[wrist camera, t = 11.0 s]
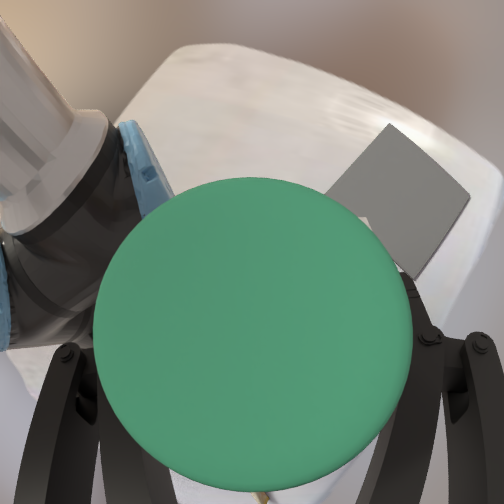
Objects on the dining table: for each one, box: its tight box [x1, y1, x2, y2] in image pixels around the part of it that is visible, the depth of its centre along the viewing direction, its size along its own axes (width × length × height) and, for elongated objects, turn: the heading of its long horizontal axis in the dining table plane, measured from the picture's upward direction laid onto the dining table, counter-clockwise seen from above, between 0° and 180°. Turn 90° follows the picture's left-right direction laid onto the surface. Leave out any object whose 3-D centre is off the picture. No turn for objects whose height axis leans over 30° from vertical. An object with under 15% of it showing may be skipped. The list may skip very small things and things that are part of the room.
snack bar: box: [250, 492, 269, 504], centre depth 34 cm, size 10×2×3 cm, turn 27°
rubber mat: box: [324, 123, 470, 279], centre depth 39 cm, size 16×16×1 cm
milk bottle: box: [93, 177, 413, 492], centre depth 14 cm, size 8×8×20 cm
